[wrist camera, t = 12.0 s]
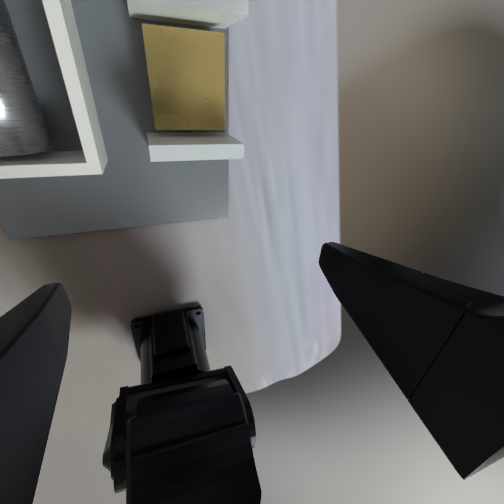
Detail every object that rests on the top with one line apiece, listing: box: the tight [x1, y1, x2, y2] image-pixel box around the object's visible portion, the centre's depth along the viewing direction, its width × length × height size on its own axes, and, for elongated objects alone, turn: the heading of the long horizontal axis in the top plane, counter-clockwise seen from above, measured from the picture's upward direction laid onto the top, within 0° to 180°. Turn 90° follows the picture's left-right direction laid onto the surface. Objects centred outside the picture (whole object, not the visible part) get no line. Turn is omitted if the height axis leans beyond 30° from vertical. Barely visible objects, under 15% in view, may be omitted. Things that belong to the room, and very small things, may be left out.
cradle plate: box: [142, 23, 225, 130], centre depth 15 cm, size 5×4×1 cm
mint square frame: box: [0, 0, 248, 240], centre depth 13 cm, size 19×14×5 cm
